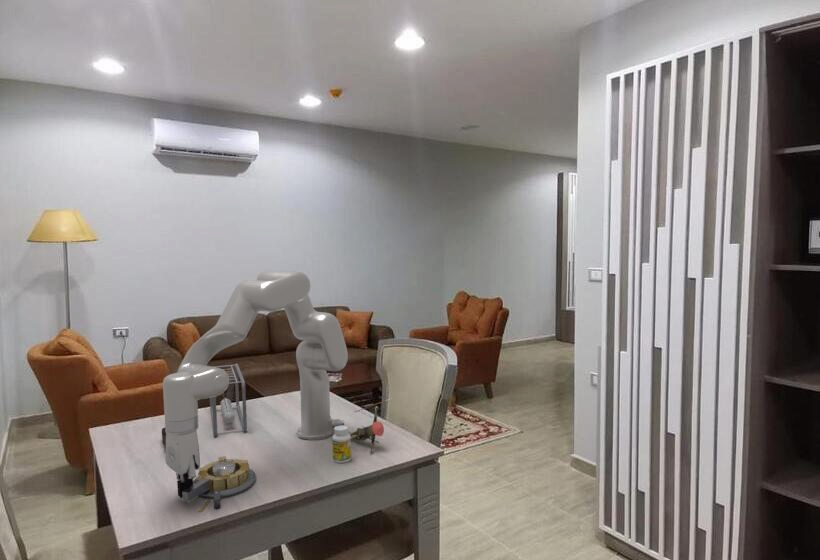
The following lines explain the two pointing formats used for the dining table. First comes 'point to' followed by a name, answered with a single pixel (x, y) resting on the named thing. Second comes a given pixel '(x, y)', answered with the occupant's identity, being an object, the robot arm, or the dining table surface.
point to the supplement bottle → (341, 444)
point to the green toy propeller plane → (369, 430)
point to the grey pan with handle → (217, 479)
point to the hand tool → (164, 437)
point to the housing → (226, 493)
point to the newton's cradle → (226, 403)
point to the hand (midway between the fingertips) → (185, 494)
